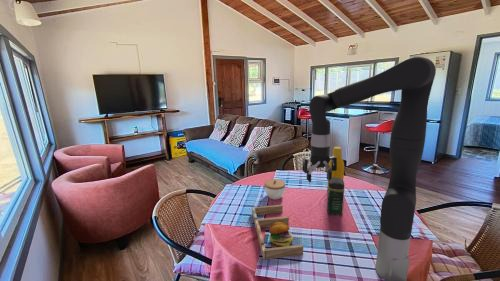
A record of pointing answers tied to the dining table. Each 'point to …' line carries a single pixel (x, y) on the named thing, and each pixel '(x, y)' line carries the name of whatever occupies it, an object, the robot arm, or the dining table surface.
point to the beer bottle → (338, 164)
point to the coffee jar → (335, 196)
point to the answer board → (262, 223)
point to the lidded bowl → (275, 188)
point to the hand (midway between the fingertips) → (319, 180)
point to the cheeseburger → (280, 235)
